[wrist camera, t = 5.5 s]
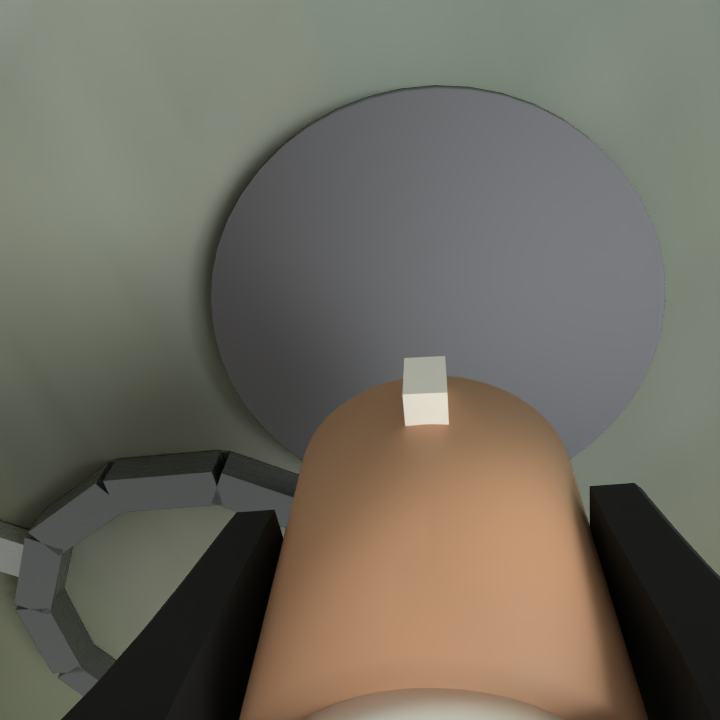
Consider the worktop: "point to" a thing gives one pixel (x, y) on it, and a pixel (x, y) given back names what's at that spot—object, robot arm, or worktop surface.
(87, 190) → the worktop surface
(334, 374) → the mat
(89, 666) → the collar
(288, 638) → the pill bottle
